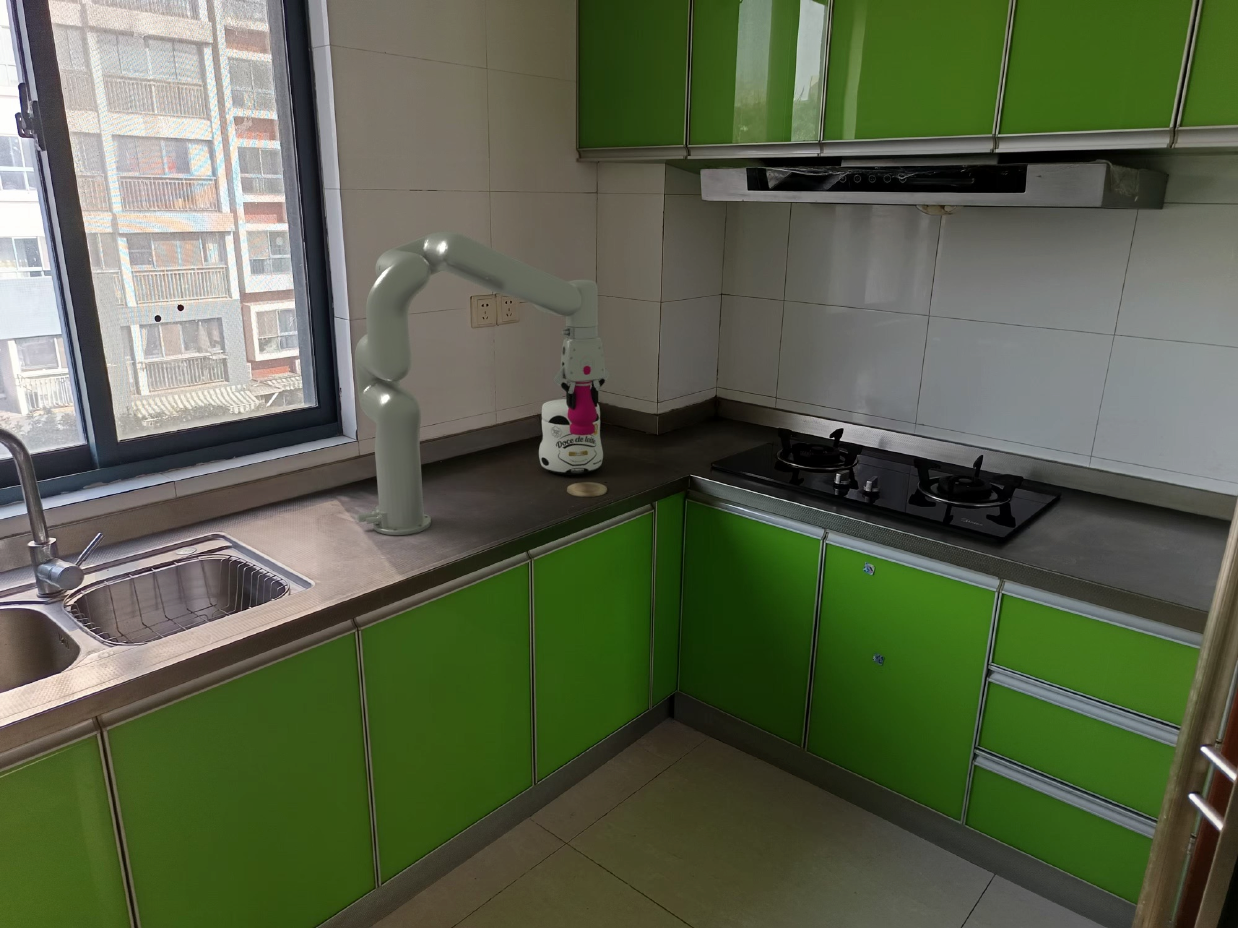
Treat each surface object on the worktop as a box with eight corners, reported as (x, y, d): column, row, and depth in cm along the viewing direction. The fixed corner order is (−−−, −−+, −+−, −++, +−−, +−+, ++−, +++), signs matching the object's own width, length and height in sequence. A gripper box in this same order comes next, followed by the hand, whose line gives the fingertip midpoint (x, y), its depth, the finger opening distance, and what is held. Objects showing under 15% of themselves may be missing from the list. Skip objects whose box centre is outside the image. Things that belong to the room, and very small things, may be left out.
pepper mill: (602, 431, 220) (602, 351, 214) (586, 437, 214) (586, 355, 208) (578, 427, 224) (577, 348, 218) (561, 433, 218) (560, 352, 212)
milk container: (575, 483, 230) (575, 416, 224) (525, 471, 240) (524, 406, 234) (615, 468, 243) (616, 404, 238) (567, 457, 253) (567, 395, 248)
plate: (577, 499, 218) (577, 496, 218) (560, 487, 226) (560, 485, 226) (613, 493, 222) (613, 491, 222) (595, 482, 231) (595, 479, 231)
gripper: (555, 337, 205) (556, 414, 210) (620, 332, 213) (620, 406, 218) (542, 333, 211) (544, 407, 217) (606, 328, 219) (606, 400, 224)
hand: (582, 406), depth 217 cm, fingers closed on pepper mill, 5 cm apart
